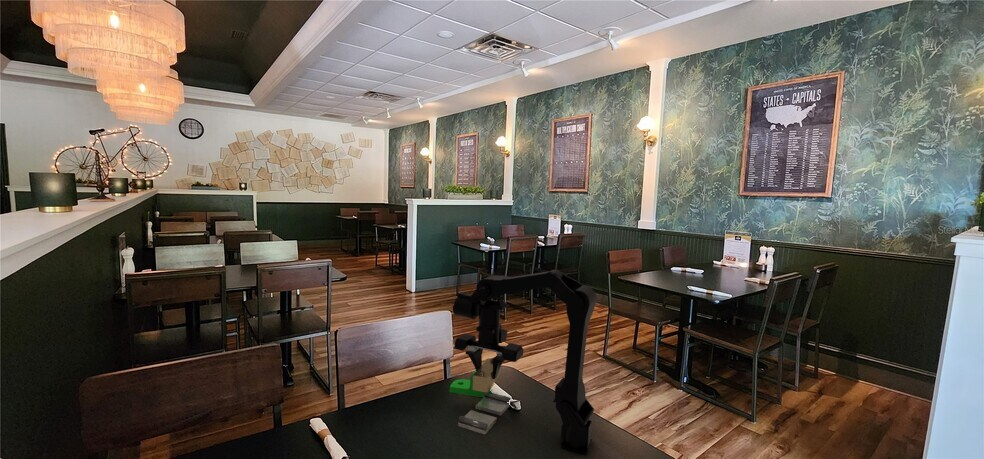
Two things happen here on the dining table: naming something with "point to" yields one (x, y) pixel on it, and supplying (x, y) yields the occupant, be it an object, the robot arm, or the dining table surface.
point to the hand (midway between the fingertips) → (487, 376)
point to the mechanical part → (465, 387)
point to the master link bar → (484, 376)
